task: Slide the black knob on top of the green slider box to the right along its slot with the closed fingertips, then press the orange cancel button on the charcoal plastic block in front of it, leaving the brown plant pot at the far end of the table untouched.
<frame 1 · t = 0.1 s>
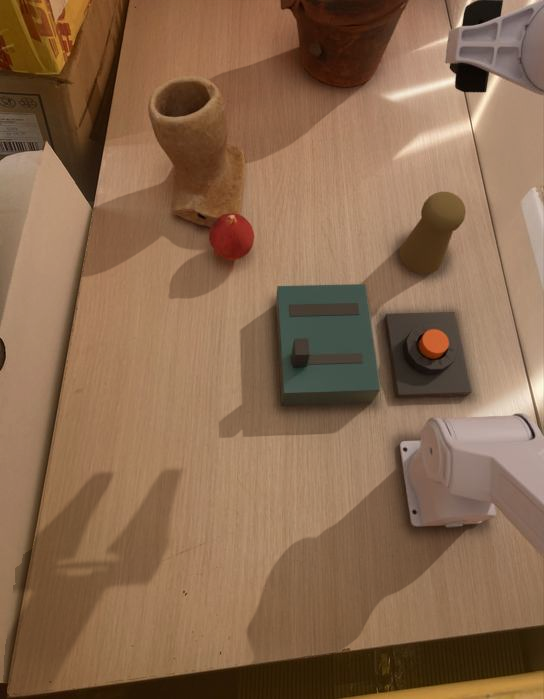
hand: (501, 56, 44), 32 cm above the worktop, tool tilted 50°, fingers open, 7 cm apart
green slider box: (322, 351, 68), on the worktop
onion: (232, 254, 73), on the worktop
slider knob: (300, 353, 60), point 6 cm above the worktop, slide at 0.0 cm
olive pawn: (420, 256, 74), on the worktop
brown plant pot: (336, 61, 90), on the worktop
cancel button: (433, 344, 65), point 3 cm above the worktop, slide at 0.1 cm
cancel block: (424, 355, 68), on the worktop
tan hollow curved piece: (203, 190, 78), on the worktop
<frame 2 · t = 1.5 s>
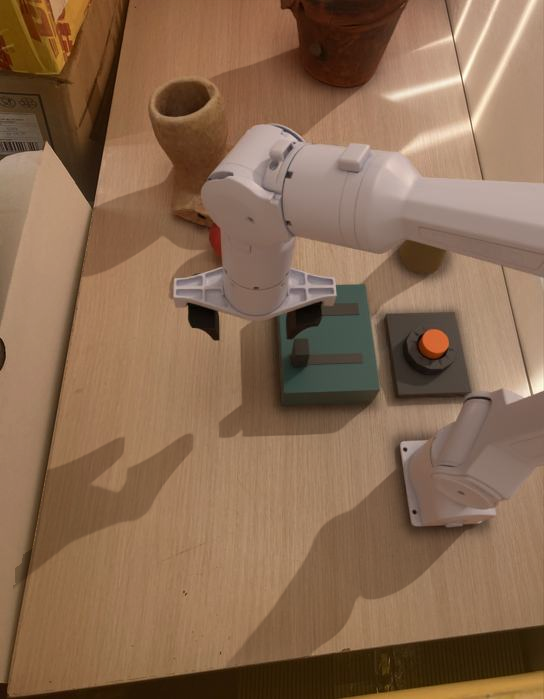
hand: (253, 331, 56), 11 cm above the worktop, tool pointing down, fingers open, 7 cm apart
nothing on the worktop moved.
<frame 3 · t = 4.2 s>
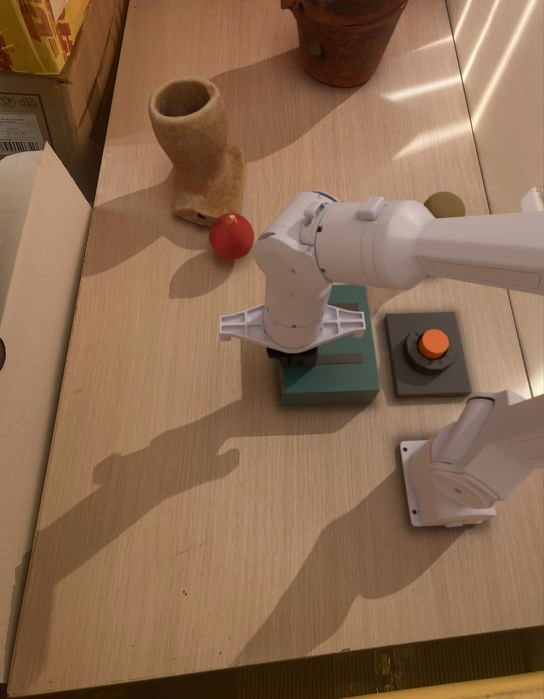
hand: (286, 358, 62), 5 cm above the worktop, tool pointing down, fingers closed
slider knob: (308, 352, 60), point 7 cm above the worktop, slide at 0.9 cm, touching gripper
everything else where it was.
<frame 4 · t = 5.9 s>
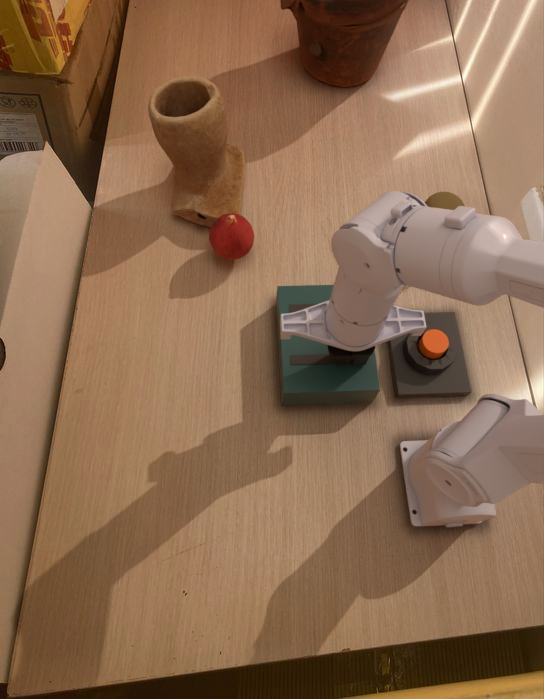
hand: (339, 357, 62), 5 cm above the worktop, tool pointing down, fingers closed
slider knob: (360, 351, 61), point 7 cm above the worktop, slide at 6.8 cm, touching gripper
everything else where it was.
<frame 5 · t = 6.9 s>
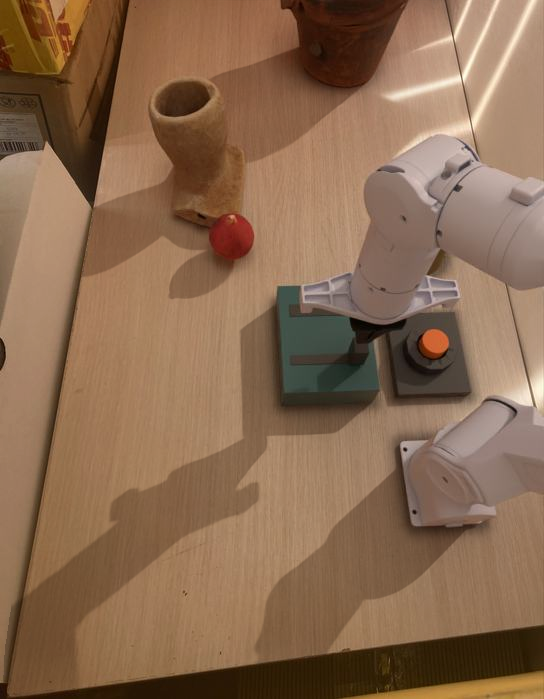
hand: (361, 335, 57), 10 cm above the worktop, tool pointing down, fingers closed
slider knob: (358, 351, 61), point 7 cm above the worktop, slide at 6.6 cm
everything else where it was.
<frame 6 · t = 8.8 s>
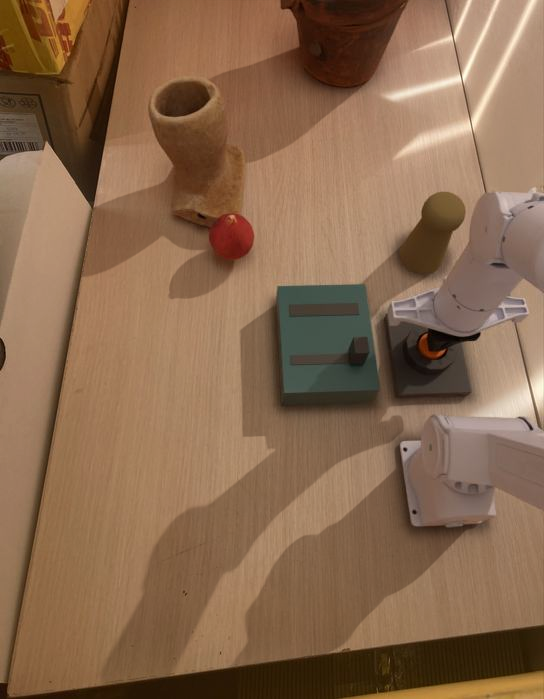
hand: (433, 344, 65), 3 cm above the worktop, tool pointing down, fingers closed, pressing on cancel button
cancel button: (431, 347, 66), point 3 cm above the worktop, slide at -0.8 cm, touching gripper
everything else where it was.
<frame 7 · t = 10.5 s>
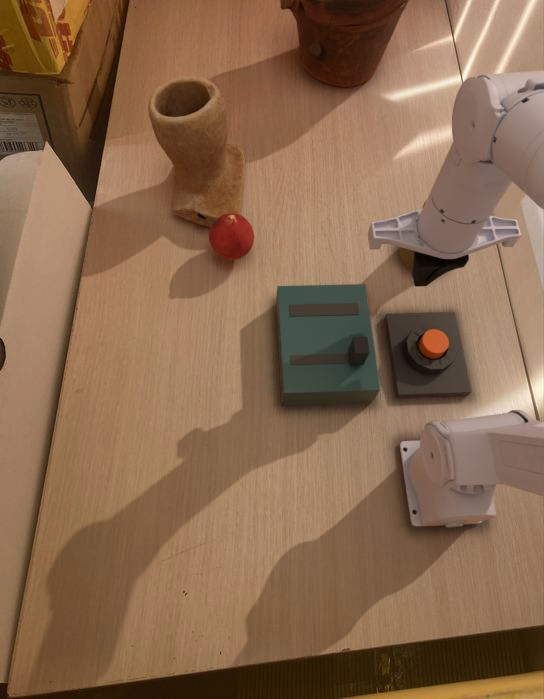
hand: (419, 278, 60), 10 cm above the worktop, tool pointing down, fingers closed
cancel button: (433, 344, 65), point 4 cm above the worktop, slide at 0.1 cm
everything else where it was.
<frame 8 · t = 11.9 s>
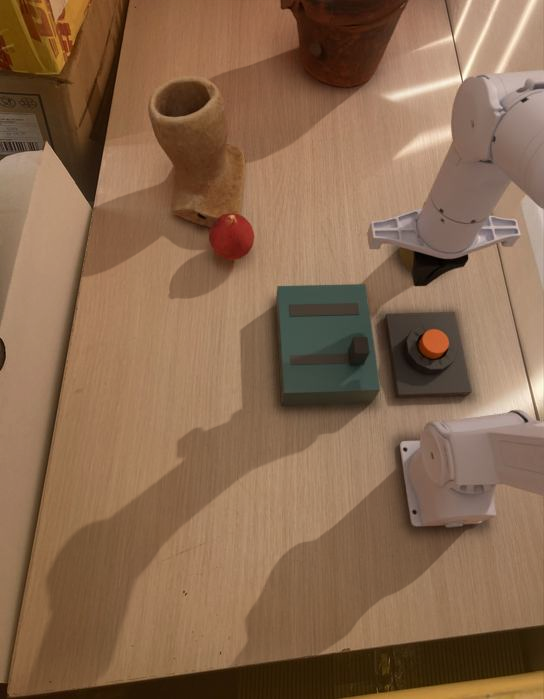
hand: (418, 278, 60), 10 cm above the worktop, tool pointing down, fingers closed
nothing on the worktop moved.
at the end: slider knob slide at 6.6 cm; cancel button pushed in 1.2 cm at the most during the clip, back to where it started at the end; brown plant pot moved 0.2 cm from its start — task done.
